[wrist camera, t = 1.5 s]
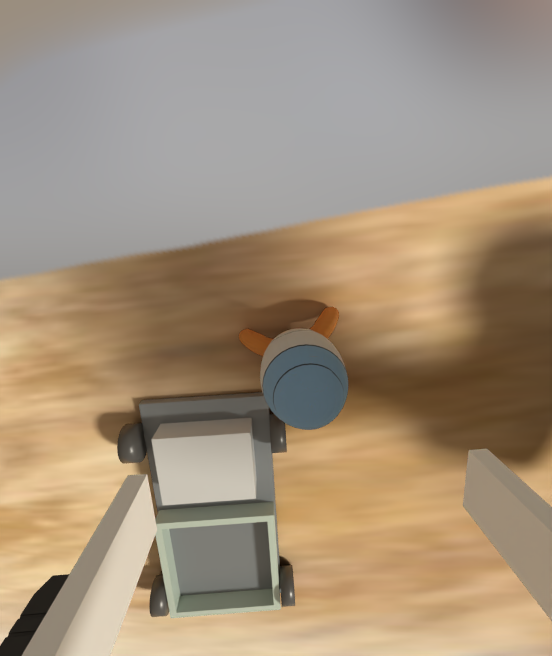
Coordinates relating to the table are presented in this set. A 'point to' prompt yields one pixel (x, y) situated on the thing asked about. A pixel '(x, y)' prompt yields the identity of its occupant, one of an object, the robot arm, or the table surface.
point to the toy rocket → (302, 372)
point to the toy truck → (213, 503)
